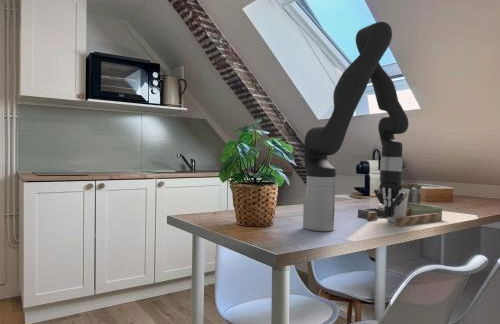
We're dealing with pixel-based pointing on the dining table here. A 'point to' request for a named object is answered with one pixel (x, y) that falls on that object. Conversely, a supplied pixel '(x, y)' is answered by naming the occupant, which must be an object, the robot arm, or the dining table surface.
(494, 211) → the dining table surface
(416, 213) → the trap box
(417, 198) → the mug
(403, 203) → the cup
